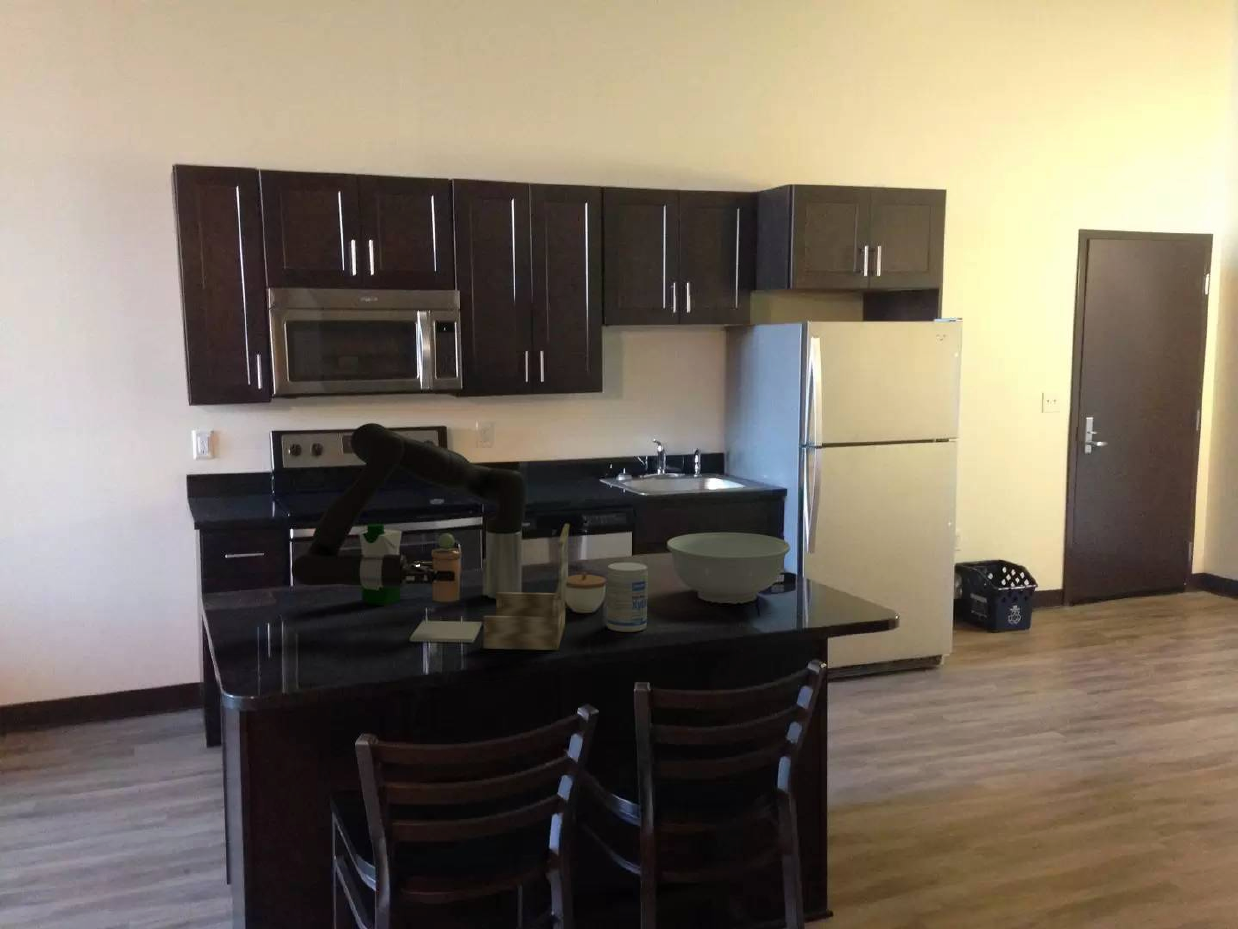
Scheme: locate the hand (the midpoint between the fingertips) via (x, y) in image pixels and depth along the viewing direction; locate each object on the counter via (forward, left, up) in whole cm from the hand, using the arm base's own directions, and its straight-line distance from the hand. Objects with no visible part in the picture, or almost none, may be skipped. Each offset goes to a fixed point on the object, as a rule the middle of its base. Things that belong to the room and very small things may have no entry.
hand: (457, 572), depth 240 cm
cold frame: (+14, +8, -14) cm, 21 cm away
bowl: (+37, +66, -14) cm, 77 cm away
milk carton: (-34, +12, -14) cm, 39 cm away
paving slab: (-2, -1, -14) cm, 14 cm away
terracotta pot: (-2, -1, -6) cm, 6 cm away
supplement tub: (+30, +26, -14) cm, 42 cm away
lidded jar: (+13, +34, -14) cm, 39 cm away
